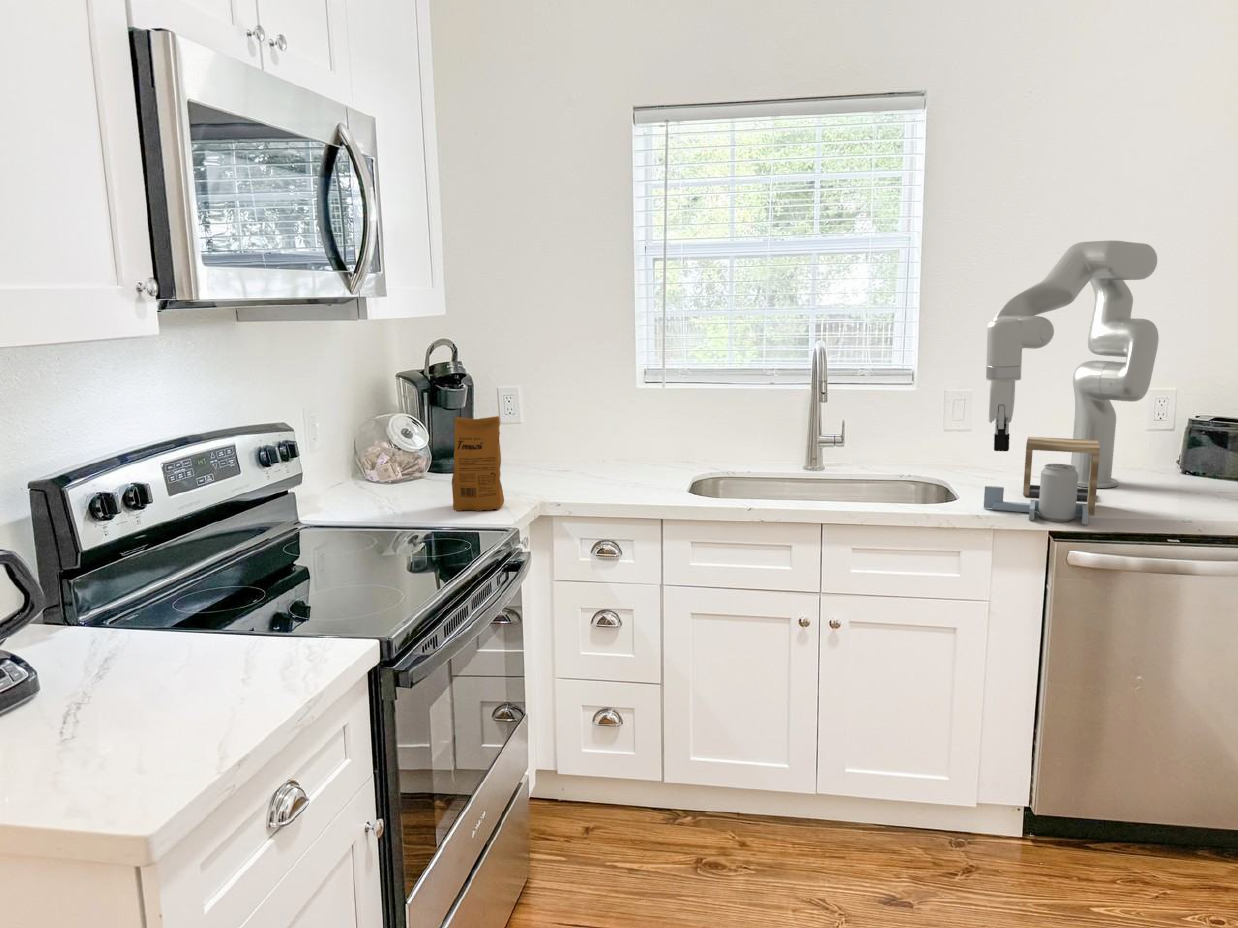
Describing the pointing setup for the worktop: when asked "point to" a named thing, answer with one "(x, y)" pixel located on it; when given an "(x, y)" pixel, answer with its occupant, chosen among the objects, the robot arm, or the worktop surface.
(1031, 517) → the blue-grey forked pusher
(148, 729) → the worktop surface
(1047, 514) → the can
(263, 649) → the worktop surface
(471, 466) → the coffee package
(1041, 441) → the tunnel
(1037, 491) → the dark flat panel
